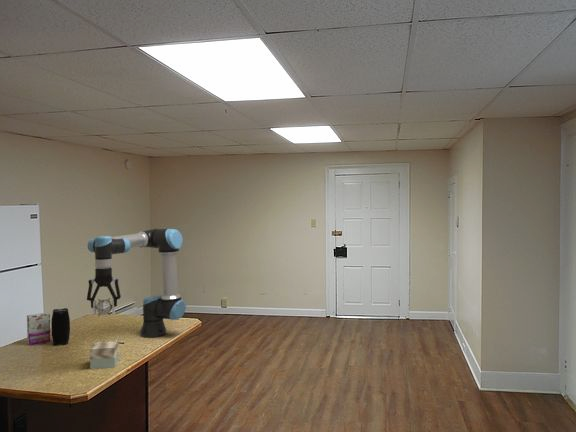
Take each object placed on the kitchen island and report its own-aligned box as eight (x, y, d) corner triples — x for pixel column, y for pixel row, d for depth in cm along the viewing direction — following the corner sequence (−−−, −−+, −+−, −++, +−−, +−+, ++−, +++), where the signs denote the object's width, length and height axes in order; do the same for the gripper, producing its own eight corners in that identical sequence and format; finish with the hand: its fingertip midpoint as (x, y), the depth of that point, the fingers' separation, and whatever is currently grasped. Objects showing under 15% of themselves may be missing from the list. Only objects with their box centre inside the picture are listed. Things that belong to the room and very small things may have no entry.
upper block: (118, 351, 227) (118, 341, 227) (113, 358, 216) (113, 347, 216) (95, 352, 225) (95, 342, 225) (89, 359, 214) (89, 349, 214)
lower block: (118, 360, 227) (118, 350, 227) (114, 368, 217) (114, 357, 216) (95, 362, 225) (95, 352, 225) (90, 370, 214) (90, 359, 214)
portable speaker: (48, 344, 254) (48, 310, 253) (64, 340, 261) (64, 307, 261) (57, 347, 249) (56, 312, 249) (73, 342, 257) (72, 308, 256)
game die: (106, 323, 219) (103, 309, 213) (92, 316, 221) (88, 302, 215) (118, 310, 226) (116, 297, 220) (104, 304, 228) (102, 290, 222)
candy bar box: (48, 339, 263) (48, 312, 262) (50, 341, 259) (50, 313, 259) (26, 343, 256) (26, 315, 255) (28, 345, 252) (28, 316, 251)
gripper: (127, 265, 226) (127, 310, 226) (82, 267, 221) (83, 313, 222) (124, 267, 218) (125, 314, 219) (78, 269, 214) (79, 316, 214)
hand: (104, 313), depth 220 cm, fingers closed on game die, 8 cm apart
